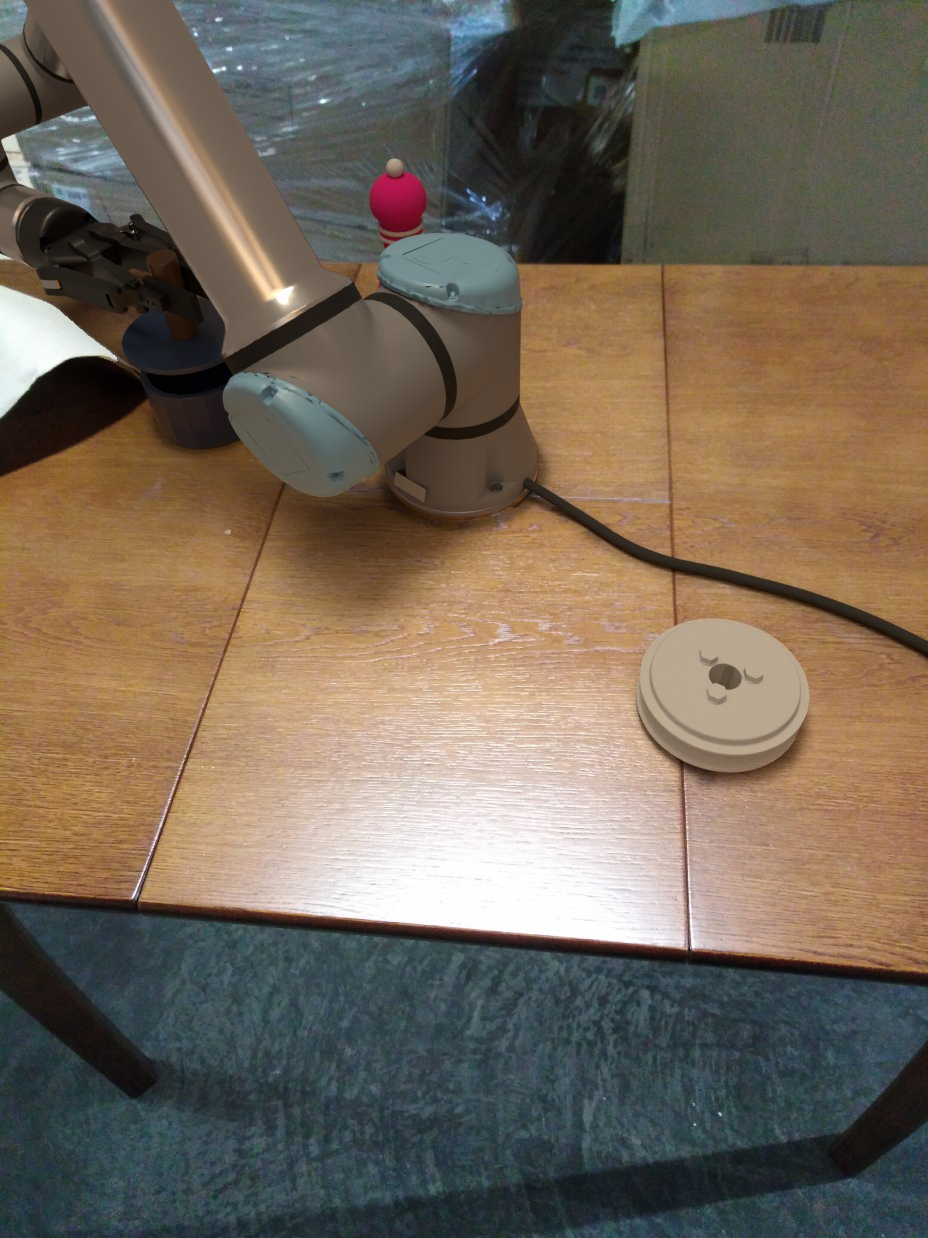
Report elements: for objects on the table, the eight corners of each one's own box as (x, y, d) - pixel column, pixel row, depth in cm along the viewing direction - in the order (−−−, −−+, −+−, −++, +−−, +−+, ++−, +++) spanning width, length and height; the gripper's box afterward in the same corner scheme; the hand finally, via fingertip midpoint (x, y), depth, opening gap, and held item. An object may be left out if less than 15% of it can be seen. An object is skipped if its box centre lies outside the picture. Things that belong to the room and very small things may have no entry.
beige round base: (670, 623, 77) (679, 585, 73) (818, 681, 72) (835, 644, 68) (608, 735, 70) (614, 699, 66) (767, 806, 65) (783, 772, 62)
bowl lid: (270, 314, 93) (250, 229, 86) (219, 387, 86) (192, 301, 78) (161, 301, 95) (132, 217, 88) (102, 371, 88) (66, 286, 81)
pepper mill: (371, 344, 104) (345, 170, 89) (396, 311, 109) (377, 139, 93) (427, 356, 103) (411, 179, 87) (451, 321, 107) (440, 147, 91)
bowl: (280, 389, 100) (268, 338, 95) (239, 455, 93) (223, 404, 88) (188, 377, 102) (171, 326, 97) (140, 441, 95) (120, 390, 90)
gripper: (119, 235, 99) (276, 296, 90) (1, 304, 91) (160, 378, 82) (95, 166, 93) (260, 224, 84) (-34, 233, 85) (133, 304, 76)
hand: (210, 300), depth 83 cm, fingers closed on bowl lid, 3 cm apart
